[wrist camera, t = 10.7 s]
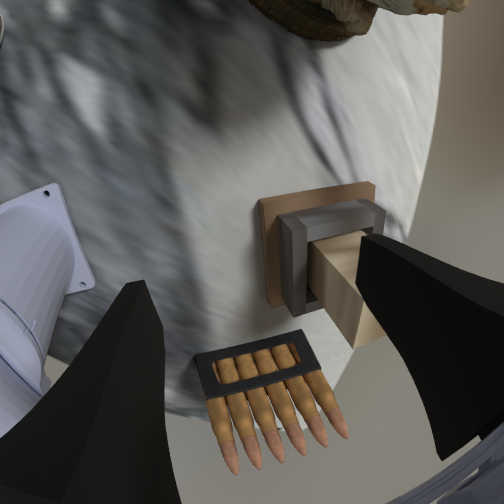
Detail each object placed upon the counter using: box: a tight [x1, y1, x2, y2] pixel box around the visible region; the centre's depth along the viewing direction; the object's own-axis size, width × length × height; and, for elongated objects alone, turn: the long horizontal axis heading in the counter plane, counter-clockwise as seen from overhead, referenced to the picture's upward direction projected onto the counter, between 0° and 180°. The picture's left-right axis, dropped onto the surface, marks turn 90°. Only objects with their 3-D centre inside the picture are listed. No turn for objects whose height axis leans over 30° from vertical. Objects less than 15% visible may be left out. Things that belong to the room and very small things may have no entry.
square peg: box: [307, 229, 387, 349], centre depth 18 cm, size 4×4×8 cm
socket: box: [259, 181, 386, 317], centre depth 21 cm, size 9×9×4 cm
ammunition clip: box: [194, 329, 348, 475], centre depth 22 cm, size 11×2×12 cm, turn 93°
